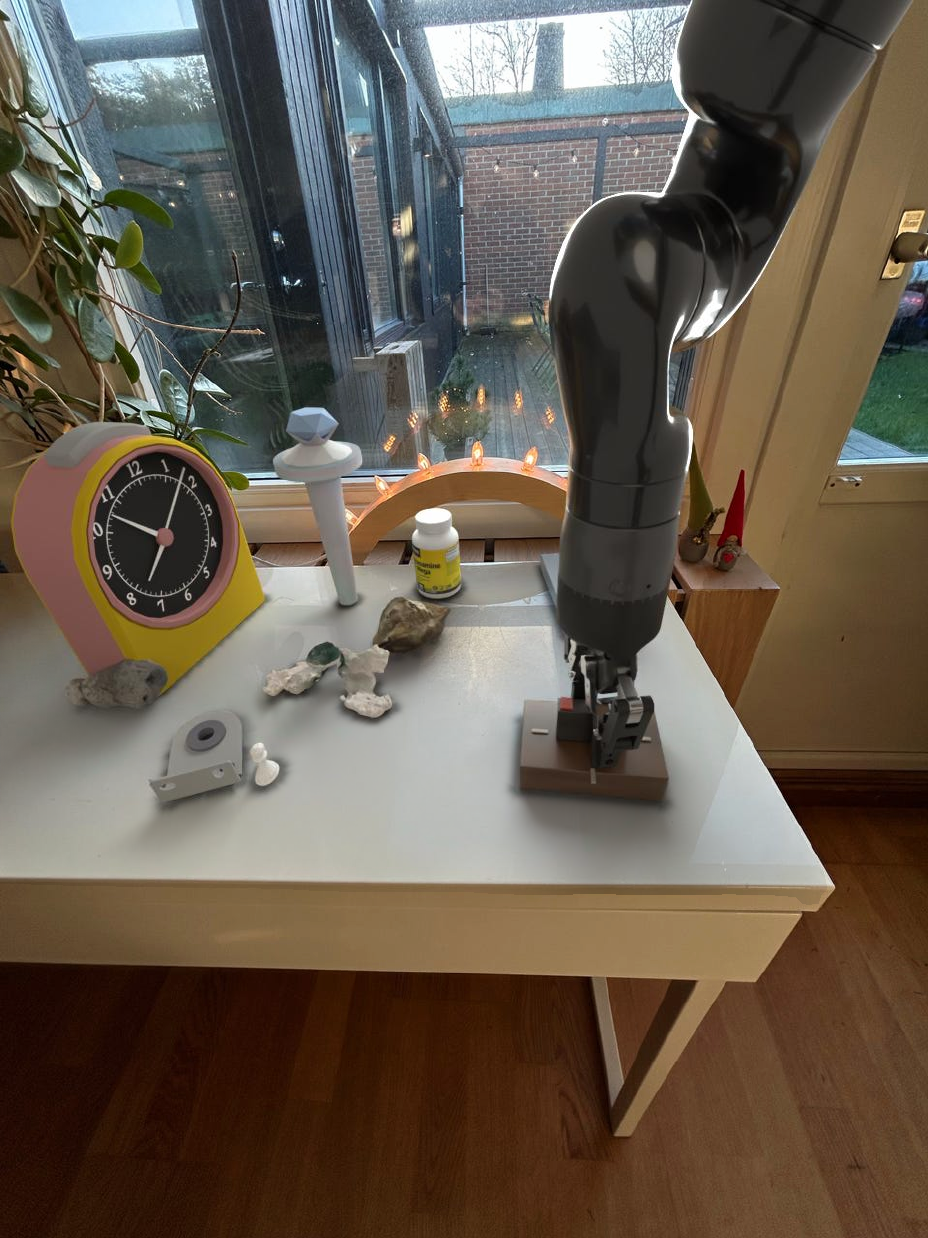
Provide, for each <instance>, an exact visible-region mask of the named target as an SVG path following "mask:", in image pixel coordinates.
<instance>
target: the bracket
mask: <svg viewBox="0 0 928 1238" xmlns="http://www.w3.org/2000/svg"><path fill="white" fill-rule="evenodd" d="M211 734H213V735H212V736H210V738H208V739H205V740H203V738H204V737H206V736H207V735H211ZM221 770H222V771H221ZM166 773H167V775H165V776H160V777H157V778H153V779H150V781H149V784H148V785H149V787H150V788H151V789H152V790H153V792H154V793H155V794H156V796H157V797H158V799H159V800H160V801H161V803H165V802H169V801H171V802H173V801H176V800H179V799H183V798H186V797H191V796H194V795H198V794H201V793H205V792H208V791H209V792H210V791H212V790H215V789H219V788H223V787H227V786H231V785H234V784H236V783H239V782H241V777H240V776H242V775H243V723H242V721H241V719H240V718H239V716H238V715H236V714H235V713H233V712H230V711H227V710H211V711H207V712H204V713H203V712H202V713H201V714H199V715H196V716H194V717H193V718H191V719H190V720H188V721H187V722H186V723H184V724H183V725H182V726H181V727H180V728H179V729H178V730H177V732H176V733H175V734H174V737H173V738H172V741H171V745H170V752H169V759H168V765H167V772H166ZM163 785H165V787H162V786H163Z"/></svg>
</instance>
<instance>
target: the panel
mask: <svg viewBox="0 0 928 1238" xmlns="http://www.w3.org/2000/svg"><path fill="white" fill-rule="evenodd" d="M557 706H558V701H551V700H536V699H535V700H534V699H524V700H523V713H522V724H521V725H522V726H521V727H522V728H521V739H520V740H521V742H520V753H519V771H518V772H519V778H518V780H519V781H518V788H519V789H525V790H532V791H533V790H534V791H535V790H536V791H546V792H555V793H568V794H578V795H590V796H599V797H601V796H602V797H612V798H623V799H633V800H635V799H636V800H645V801H656V802H663V801H664V797H665V793H666V790H667V786H668V783H669V779H670V777H669V774H668V769H667V768H668V767H667V763H666V758H665V754H664V749H663V745H662V740H661V735H660V731H659V725H658V721H657V716H656V712H655V710H654V713H653V715H652V717H651V720H650V722H649V725H648V727H647V729H646V732H645V734H644V736H643V739H642V741H641V743H640V746H639V748H638V749H634V750H626V751H620V754H619V760H618V763H617V765H616V766H612V767H604V768H594V767H593V766H592V764H591V762H590V759H589V758H590V750H591V742H587V741H575V740H563V739H556V719H557Z"/></svg>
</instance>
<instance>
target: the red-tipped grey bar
mask: <svg viewBox="0 0 928 1238" xmlns="http://www.w3.org/2000/svg"><path fill="white" fill-rule="evenodd" d="M557 702H558V706H557V719H556V739H563V740H575V741H587V742H592V734H593V715H592V712H591V711H590V710H589V709H588V707H587V706H586V700H580V699H572V698H571V697H567V696H566V697H565V696H563V697H562V696H560V697H558V698H557ZM608 715H609V713H605V714H604V716H603V723H606V722H607V718H608Z"/></svg>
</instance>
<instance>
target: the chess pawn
mask: <svg viewBox="0 0 928 1238" xmlns="http://www.w3.org/2000/svg"><path fill="white" fill-rule="evenodd" d="M249 754H250V756H251V757H252V761H253V763H256V764H258V766H257V768H256V771H255V778H254V782H255V784H256V785H258V786H260V787H262V786H263V787H265V786H268V785H270V784H271V783H273V782H274V781H275V780H276V779H277V777H278V775H279V772H280V766H279V765H280V764H279V763H277V762H276V761H274V760H269V759H267V755H268V751H267V750H266V749H265V745H264V744H263V743H262V742H257V743H256V742H255V744H253V745H252V747H250V750H249Z"/></svg>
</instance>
